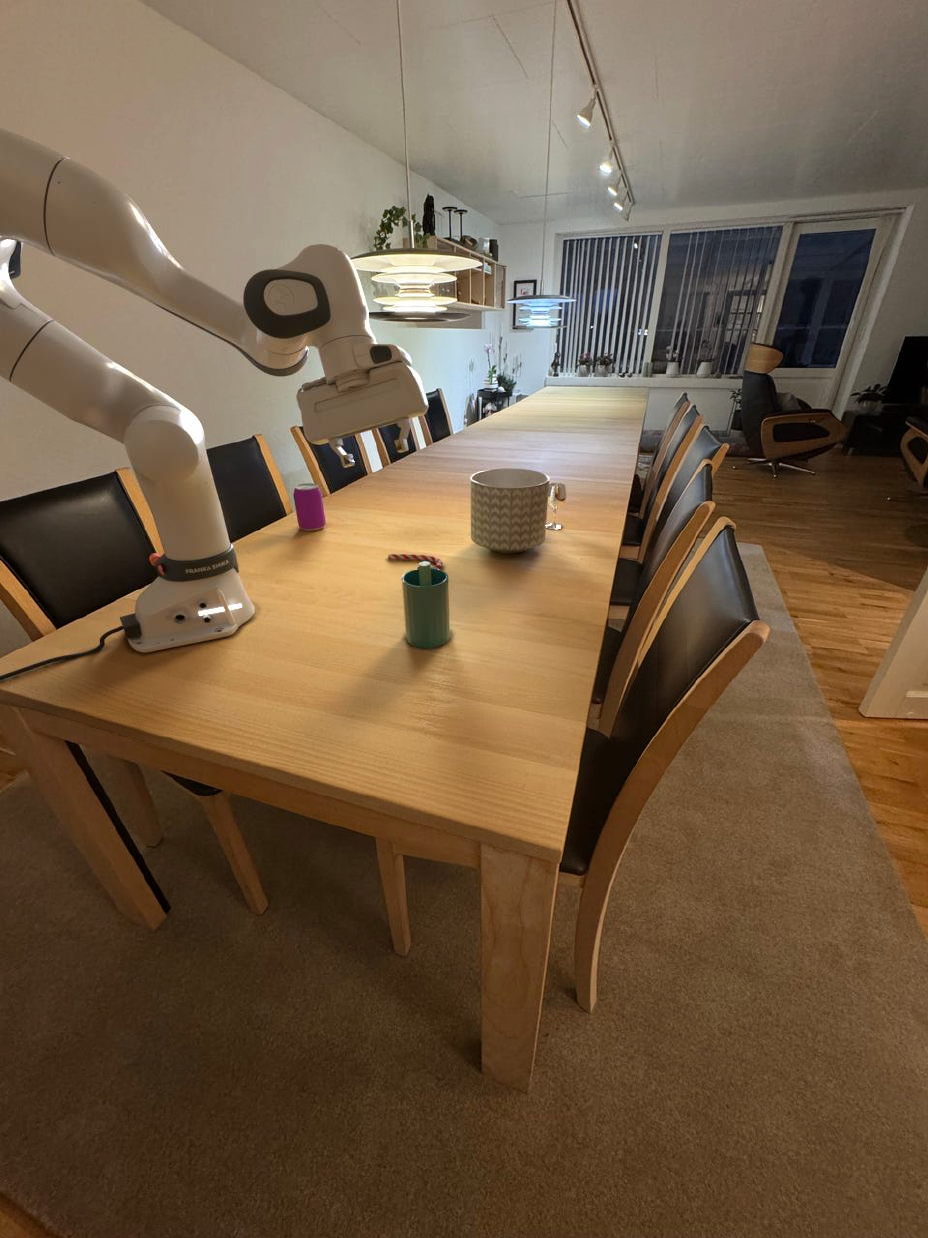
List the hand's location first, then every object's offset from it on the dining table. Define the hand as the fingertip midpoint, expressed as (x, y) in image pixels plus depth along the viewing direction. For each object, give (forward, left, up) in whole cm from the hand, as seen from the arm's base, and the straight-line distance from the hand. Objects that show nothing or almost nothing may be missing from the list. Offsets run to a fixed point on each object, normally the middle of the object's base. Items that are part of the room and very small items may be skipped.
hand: (375, 458), depth 82 cm
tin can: (+4, -6, -31) cm, 32 cm away
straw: (+4, -6, -31) cm, 32 cm away
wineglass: (+65, +25, -32) cm, 77 cm away
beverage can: (+9, +66, -32) cm, 73 cm away
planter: (+44, +20, -32) cm, 58 cm away
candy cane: (+19, +25, -32) cm, 44 cm away
